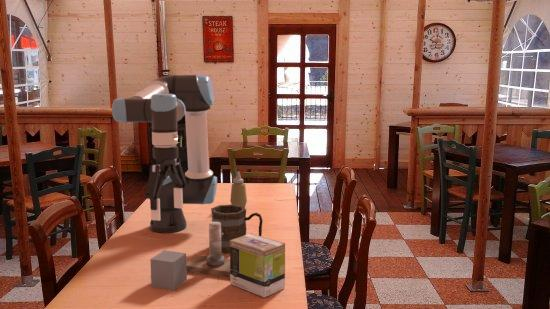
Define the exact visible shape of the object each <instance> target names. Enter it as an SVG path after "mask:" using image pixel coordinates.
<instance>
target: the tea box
mask: <svg viewBox="0 0 550 309" xmlns="http://www.w3.org/2000/svg"><path fill="white" fill-rule="evenodd" d="M229 259H230V278H229V280H230V285H233V286H235V287H237V288H239V289H242V290H245V291H246V292H250V293H253V294H254V295H257V296H259V297H261V298H264V299H265V298H266V297H269V296H271V295H273V294H276V293H277V292H280V291H281V290H283V289H285V286H286V243H285V242H283V241H278V240H275V239H272V238H270V237H264V236H259V234H258V235H257V234H253V233H248V234H246V235H245V236H242V237H239V238H236V239H233V240H230V254H229Z"/></svg>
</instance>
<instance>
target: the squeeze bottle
mask: <svg viewBox="0 0 550 309" xmlns="http://www.w3.org/2000/svg"><path fill="white" fill-rule="evenodd" d="M246 188H247V187H246V184H245V183H244V179H243V178H242V177H241V173H240V171H237V172H236V176H235V178H233V183H232V184H231V189H230V190H231V191H230V205H231V204H233V205H239V206H244V207H245V208H246V206H247V204H248V203H247V202H248V199H247V198H248V197H247V189H246Z"/></svg>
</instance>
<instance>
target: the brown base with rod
mask: <svg viewBox="0 0 550 309" xmlns="http://www.w3.org/2000/svg"><path fill="white" fill-rule="evenodd" d="M208 242H209V244H208V245H209V246H208V248H209V249H208V250H209V255H203V254H195V255H193V256H192V257H191V258H189V259H188V260H186V266H187V271H188V272H187V273H189V272H190V273H194V272H195V273H196V274H201V273H202V274H203V275H208V274H209V276H216V277H222V278H228V279H230V258H225V256H224V255H222V253H221V223H220V222H212V221H211V222H208ZM195 273H194V274H195Z"/></svg>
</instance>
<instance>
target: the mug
mask: <svg viewBox="0 0 550 309" xmlns="http://www.w3.org/2000/svg"><path fill="white" fill-rule="evenodd" d="M210 210H211V222H220V223H221V254H224V255H227V254H228V255H230V240H233V239H236V238H239V237H242V236H245V235H247V222H246V221H250V220H251V219H252V218H253V217H258V218H259V222H258V224H259V225H258V236H262V233H263V232H262V231H263V221H264V220H263V218H262V217H263V216H262V214H260V213H258V212H253V213H251V214H250V215H249V216H246V215H247V209H246V206H245V207H244V206H239V205H233V204H231V203H230V204H220V205H216V206H215V207H212V208H210ZM262 237H263V236H262Z"/></svg>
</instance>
